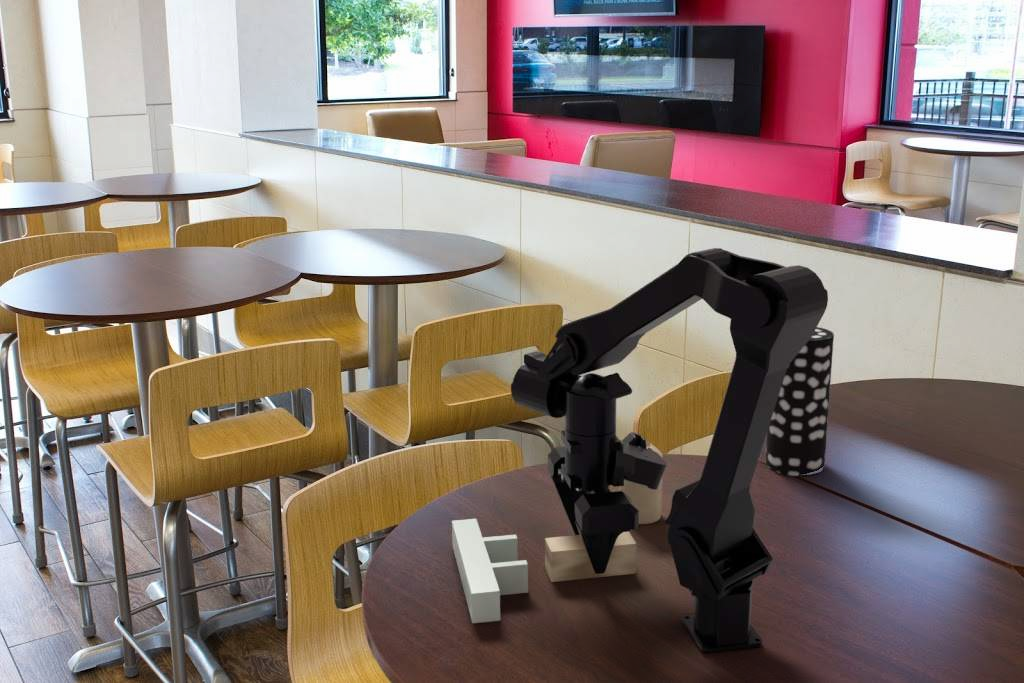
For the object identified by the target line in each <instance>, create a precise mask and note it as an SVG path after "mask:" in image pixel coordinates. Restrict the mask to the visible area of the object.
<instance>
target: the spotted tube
mask: <svg viewBox="0 0 1024 683" xmlns="http://www.w3.org/2000/svg"><path fill="white" fill-rule="evenodd" d="M834 338H835V334H834V332H833V331H831V330H829V329H827V328H823V327H818V326H817V327H816V329H815V331H814V333H813V335H812V337H811V338H810V339H809V341H808V342H807V343H806V344H805V346H804V347H803V348H802V349H801V350H800V352H799V353H798V354H797V355H796V356H795V358H794V359H793V360H792V361H791V363H790V364H789V366H788V368H787V371H786V374H785V377H784V380H783V383H782V387H781V390H780V393H779V396H778V399H777V402H776V405H775V409H774V412H773V415H772V418H771V421H770V424H769V427H768V431H767V434H766V439H765V440H766V443H765V445H766V446H765V458H766V464H765V465H766V467H767V468H768V469H770V470H771V471H772V472H776V473H779V474H782V475H787V476H792V477H799V476H798V475H801V474H802V475H803V474H807V473H810V472H814V471H817V470H819V469H820V468H822V467H823V466H824V467H825V465H824V463H825V462H826V451H827V450H826V449H827V448H826V447H827V435H828V423H829V420H828V419H829V411H830V410H829V407H830V395H831V394H830V393H831V381H832V379H831V378H832V366H833V365H832V364H833V352H834V351H833V350H834Z"/></svg>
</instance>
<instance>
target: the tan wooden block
mask: <svg viewBox="0 0 1024 683" xmlns="http://www.w3.org/2000/svg"><path fill="white" fill-rule="evenodd" d="M544 568H545V571H546V573H547V575H548V577H549V580H550V582H551V583H555V582H565V581H575V580H583V579H585V580H586V579H593V578H595V579H596V578H603V577H605V578H606V577H613V576H623V575H633V574H637V542H636V541H635V539H634V538H633V536H632V534H631V533H630V531H628V532H623V533H622V534H620V535H619V536H618V537H617V540H616V542H615V544H614V547H613V550H612V553H611V556H610V559H609V562H608V565H607V568H606V571H605V573H602V574H596V573H595V572H594V569H593V567H592V564H591V562H590V559H589V557H588V554H587V552H586V549H585V546H584V544H583V541H582V539H581V536H580V535H575V534H574V535H564V536H563V535H562V536H553V537H545V538H544Z"/></svg>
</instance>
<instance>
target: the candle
mask: <svg viewBox="0 0 1024 683" xmlns="http://www.w3.org/2000/svg"><path fill="white" fill-rule="evenodd" d="M646 447H647V449H648V448H651V449H652V450H653V451H655V452H656V453H658V454H659V455H660V456H661V458H662V459H663V460H664V457H663V456H664V454H663V453H662V452H661V450H659V449H658V447H656V446H654V445H653V444H652V443H651V442H650V441H649V440H646ZM618 491H622V492H624V493H625V494H626V495H627V496H628V497H629V498H630V499H631V500H632V502H633V503H634V505H635V506H636V508H637V509H638V510H639V519H638V525H650V524H654V523H656V522H659V520H660V519H661V516H662V499H663V493H662V491H663V477H662V478H661V481H660V483H659V486H658V489H656V490H654V489H650V488H648V487H647V486H645V485H641V484H638V483H634V482H630V481H627V480H625V479H624V486H618Z"/></svg>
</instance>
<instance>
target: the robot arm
mask: <svg viewBox="0 0 1024 683" xmlns="http://www.w3.org/2000/svg"><path fill="white" fill-rule="evenodd" d="M701 300H702V301H704V302H705V303H706V304H707V305H708V306H709V308H711V309H712V310H713V311H714V312H715V313H717V314H720V315H721V316H724V317H727V318H729V319H730V322H729V332H730V335H731V340H732V343H733V346H734V351H735V357H734V358H735V359H734V362H733V366H732V369H731V373H730V377H729V379H728V382H727V383H728V384H727V387H726V391H725V394H724V397H723V401H722V404H721V407H720V411H719V413H718V418H717V422H716V425H715V427H714V432H713V435H712V438H711V443H710V445H709V449H708V452H707V456H706V459H705V462H704V466H703V469H702V473H701V476H700V478H699V480H695V481H693V482H692V483H689V484H687V485H685V486H682V487H680V488H678V489H676V490H675V491H674V493H673V496H672V498H671V508H670V512H669V515H668V517H667V518H666V519H665V520H664V521H663V522H664V523H663V524H665V525H669V526H668V529H667V535H666V536H667V543H668V544H669V546H670V551H671V554H672V557H673V562H674V566H675V570H676V572H677V573H676V574H677V578H678V581H679V584H680V586H682V587H683V588H685V589H688V591H689V592H690V595H691V596H693V597H694V602H693V603H694V606H693V614H692V613H691V614H685V615H683V616H682V618H681V621H682V623H683V625H684V626H685V628H686V630H687V631H688V632H689V635H690V636H691V637H692V639H693V640H694V642H695V644H696V645H697V647H698V649H699V650H700V651H701V652H703V653H713V652H721V651H728V650H739V649H745V648H747V649H748V648H757V647H758V648H759V647H761V646H763V639H762V638H761V636H760V635H759V633H758V632H757V631H756V629H755V628H754V627H753V625H752V624H751V617H752V616H751V615H752V599H753V598H752V597H753V580H754V579H757V578H759V577H761V576H764V575H766V574H767V573H768V571H769V569H770V567H771V565H772V562H773V560H774V559H773V556H772V555H771V554H770V552H769V550H768V548H766V545H765V544H764V542H763V541H762V540H761V538H760V537H759V535H758V534H757V532H756V530H755V529H754V519H755V513H756V510H755V506H754V503H753V499H752V496H751V492H750V488H751V484H752V481H753V478H754V474H755V471H756V467H757V465H758V461H759V458H760V455H761V452H762V449H763V446H764V443H765V440H766V438H767V431H768V427H769V424H770V421H771V418H772V415H773V412H774V409H775V405H776V402H777V399H778V396H779V393H780V390H781V387H782V383H783V380H784V377H785V374H786V371H787V368H788V366H789V364H790V363H791V361H792V360H793V359H794V358H795V356H796V355H797V354H798V353H799V352H800V350H801V349H802V348H803V347H804V346H805V344H806V343H807V342H808V341H809V339H810V338H811V337H812V335H813V333H814V331H815V329H816V327H818V325H819V324H820V323H821V320H822V318H823V316H824V314H825V312H826V310H827V307H828V300H829V294H828V290H827V289H826V288H825V286H824V283H823V281H822V280H821V278H820V277H819V276H818V275H817V273H816V272H815V271H813V270H812V269H811V268H809V267H808V266H804V265H801V264H800V265H799V264H798V265H790V266H785V265H783V264H779V263H776V262H771V261H767V260H762V259H758V258H754V257H753V258H752V257H748V256H742V255H739V254H737V253H734V252H732V251H729V250H726V249H723V248H720V247H713V248H707V249H704V250H698V251H694V252H690V253H688V254H686V255H685V256H683V258H682V259H681V260H680V261H679V262H678V263H677V264H676V265H674V266H672V267H671V268H669V269H668V270H666V271H665V272H663V273H662V274H660V275H659V276H657V277H656V278H655V279H652V281H649V282H648V283H647V284H645V285H644V286H642V287H641V288H639V289H638V290H636V291H635V292H633V293H632V294H630V295H628V296H627V297H626V298H624V299H622V300H621V301H620V302H618V303H616V304H615V305H614V306H612V307H611V308H608V309H606V310H603V311H600V312H597V313H594V314H591V315H588V316H584V317H581V318H579V319H575V320H573V321H571V322H567V323H565V324H563V325H561V326H560V327H559V329H557V331H556V333H555V338H556V341H555V342H554V344H553V345H552V347H551V349H550V350H549V352H548V353H547V354H545V353H543V352H540V351H538V350H537V351H536V350H535V351H531V352H528V353H525V354H524V355H523V364H521V365H520V367H518V369H517V371H516V372H515V373H514V377H513V378H512V382H511V384H510V393H511V397H512V399H513V401H514V402H515V404H517V406H519V407H522V408H525V409H528V410H531V411H534V412H537V413H540V414H543V415H546V416H548V417H552V418H554V419H561V418H563V417H564V430H560V440H561V441H562V443H563V444H564V446H559V447H558V446H557V447H556V446H555V447H554V448H553V449H552V450H551V451H550V452H549V453H548V454H547V471H548V472H549V474H550V479H551V480H552V483H553V486H554V488H555V491H556V493H557V496H558V498H559V500H560V503H561V505H562V507H563V509H564V512H565V514H566V517H567V519H568V522H569V523H570V526H571V529H572V531H573V534H574V535H580V536H581V539H582V541H583V544H584V546H585V549H586V552H587V554H588V557H589V559H590V562H591V564H592V567H593V569H594V572H595V573H596V574H602V573H605V571H606V568H607V565H608V562H609V559H610V556H611V553H612V550H613V547H614V544H615V542H616V540H617V537H618V536H619V535H620V534H622V533H623V532H628V531H629V532H630V531H632V530H636V529H637V528H638V527H639V524H638V519H639V510H638V509H637V508H636V506H635V505H634V503H633V502H632V500H631V499H630V498H629V497H628V496H627V495H626V494H625V493H624V492H622V491H619V490H618V491H611V489H610V486H613V487H615V488H616V487H619V486H624V479H625V480H627V481H630V482H634V483H638V484H641V485H645V486H647V487H648V488H650V489H654V490H656V489H658V486H659V483H660V481H661V478H662V479H663V475H664V473H665V471H666V467H667V466H668V463H666V461H665V460H664V458H663V459H662V458H661V456H660V455H659V454H658V453H656V452H655V451H653V450H652V449H651V448H648V449H647V447H646V441H647V439H646V438H645V437H644V436H643V435H642V434H639V433H636V432H632V431H630V432H629V433H628V434H627V435H626V436H625V437H624V438H623V439H619V438H618V436H617V399H620V398H623V397H626V396H629V395H631V394H632V393H633V389H632V387H630V385H629V384H628V383H627V382H626V381H625V380H624V379H622V377H621V375H620V373H618V372H615V373H614V372H613V373H611V374H607V375H605V376H603V375H601V374H597V373H591V372H594V371H598V370H601V369H605V368H608V367H611V366H614V365H618V364H620V363H621V362H623V361H624V360H625V359H626V358H627V357H628V356H629V355H630V354H631V353H632V352H633V351H635V349H636V348H637V347H638V344H639V341H640V339H641V338H643V337H644V336H645V334H647V333H649V332H650V331H652V330H653V329H655V328H657V327H658V326H660V325H661V324H663V323H665V322H667V321H668V320H670V319H672V318H674V317H675V316H676V315H678V314H680V313H681V312H683V311H685V310H687V309H688V308H689V307H691V306H693V305H694V304H696V303H698V302H699V301H701Z"/></svg>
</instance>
